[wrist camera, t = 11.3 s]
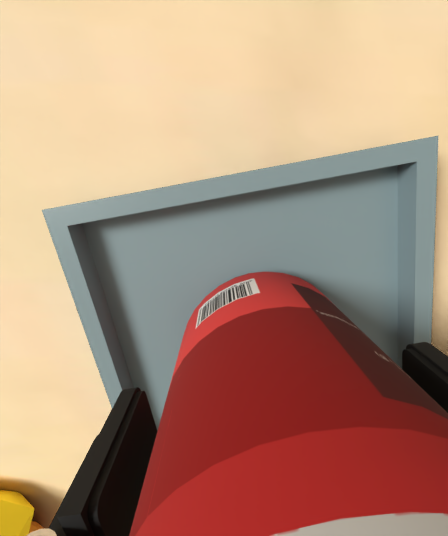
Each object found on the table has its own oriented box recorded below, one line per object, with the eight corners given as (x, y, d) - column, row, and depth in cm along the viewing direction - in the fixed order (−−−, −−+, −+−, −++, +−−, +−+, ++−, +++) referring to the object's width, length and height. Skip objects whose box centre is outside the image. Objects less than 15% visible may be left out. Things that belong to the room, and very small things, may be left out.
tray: (403, 422, 17) (427, 452, 15) (151, 459, 17) (142, 493, 15) (404, 144, 12) (438, 135, 10) (68, 207, 13) (42, 210, 11)
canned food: (166, 381, 15) (23, 881, 4) (211, 244, 13) (167, 512, 2) (296, 416, 15) (466, 917, 5) (358, 292, 13) (893, 674, 3)
